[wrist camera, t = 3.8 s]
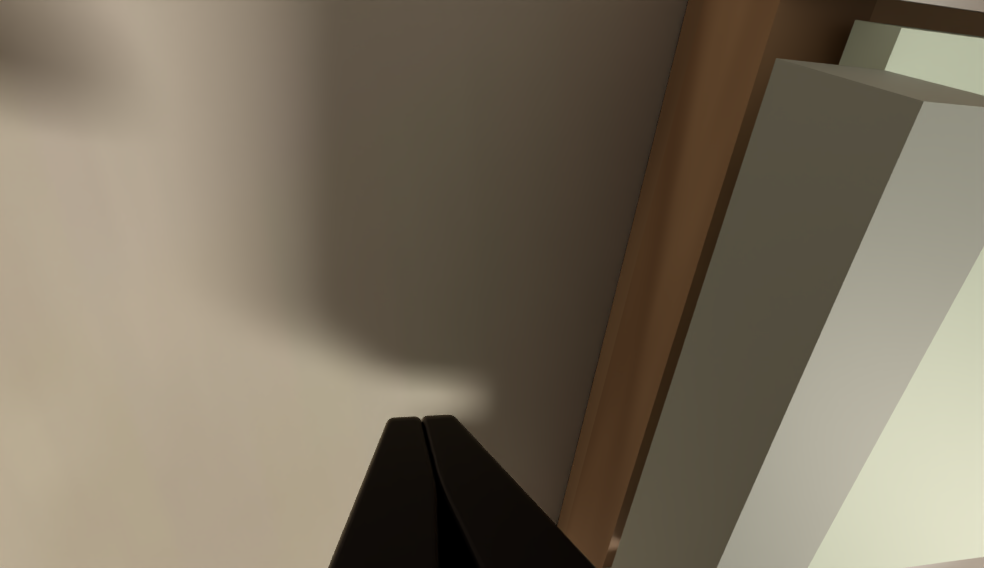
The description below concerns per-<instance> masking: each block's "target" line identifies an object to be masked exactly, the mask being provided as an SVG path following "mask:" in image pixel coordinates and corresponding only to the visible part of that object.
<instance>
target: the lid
mask: <svg viewBox="0 0 984 568" xmlns="http://www.w3.org/2000/svg"><path fill="white" fill-rule="evenodd" d="M979 557H984V37H981V36H974V35H966V34H959V33H951V32H944V31H936V30H929V29H921V28H914V27H906V26H898V25H891V24H883V23H876V22H868V21H861V20H855V22H854V24H853V27H852V30H851V32H850V35H849V38H848V41H847V43H846V46H845V49H844V51H843V54H842V57H841V59H840V62H839V65H833V64H824V63H815V62H806V61H797V60H788V59H779V58H776V60H775V63H774V66H773V69H772V73H771V76H770V79H769V82H768V85H767V88H766V91H765V94H764V97H763V100H762V103H761V107H760V110H759V113H758V116H757V119H756V122H755V125H754V128H753V131H752V134H751V137H750V141H749V144H748V147H747V150H746V153H745V156H744V159H743V162H742V165H741V168H740V171H739V175H738V178H737V181H736V184H735V187H734V190H733V193H732V196H731V199H730V202H729V205H728V209H727V212H726V215H725V218H724V221H723V224H722V227H721V230H720V233H719V236H718V239H717V243H716V246H715V249H714V252H713V255H712V258H711V261H710V264H709V267H708V270H707V273H706V277H705V280H704V283H703V286H702V289H701V292H700V295H699V298H698V301H697V304H696V308H695V311H694V314H693V317H692V320H691V323H690V326H689V329H688V332H687V335H686V338H685V342H684V345H683V348H682V351H681V354H680V357H679V360H678V363H677V366H676V369H675V372H674V376H673V379H672V382H671V385H670V388H669V391H668V394H667V397H666V400H665V403H664V406H663V410H662V413H661V416H660V419H659V422H658V425H657V428H656V431H655V434H654V437H653V440H652V444H651V447H650V450H649V453H648V456H647V459H646V462H645V465H644V468H643V471H642V474H641V478H640V481H639V484H638V487H637V490H636V493H635V496H634V499H633V502H632V505H631V508H630V512H629V515H628V518H627V521H626V524H625V527H624V530H623V533H622V536H621V539H620V542H619V546H618V549H617V552H616V555H615V558H614V561H613V564H612V567H611V568H906V567H913V566H920V565H928V564H935V563H942V562H950V561H957V560H965V559H972V558H979Z"/></svg>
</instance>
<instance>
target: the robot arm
mask: <svg viewBox="0 0 984 568" xmlns="http://www.w3.org/2000/svg"><path fill="white" fill-rule="evenodd" d="M328 568H596V567H595V566H594V565H593V564H592V563H591V562H590V561H589V560H588V559H587V558H586V557H585V556H584V554H583V553H582V552H581V551H580V550H579V549H578V548H577V547H576V546H575V545H574V544H573V543H572V542H571V541H570V539H569V538H568V537H567V536H566V535H565V534H564V533H563V532H562V531H561V530H560V529H559V528H558V527H557V526H556V524H555V523H554V522H553V521H552V520H551V519H550V518H549V517H548V516H547V515H546V514H545V513H544V512H543V511H542V509H541V508H540V507H539V506H538V505H537V504H536V503H535V502H534V501H533V500H532V499H531V498H530V497H529V496H528V495H527V493H526V492H525V491H524V490H523V489H522V488H521V487H520V486H519V485H518V484H517V483H516V482H515V481H514V480H513V478H512V477H511V476H510V475H509V474H508V473H507V472H506V471H505V470H504V469H503V468H502V467H501V466H500V465H499V463H498V462H497V461H496V460H495V459H494V458H493V457H492V456H491V455H490V454H489V453H488V452H487V451H486V450H485V448H484V447H483V446H482V445H481V444H480V443H479V442H478V441H477V440H476V439H475V438H474V437H473V436H472V435H471V433H470V432H469V431H468V430H467V429H466V428H465V427H464V426H463V425H462V424H461V423H460V422H459V421H458V420H457V419H456V418H455V417H454V416H452V415H434V416H425V417H424V418H423V419H422V420H420V419H419V418H418V417H397V418H391V419H389V420H388V421H387V423H386V426H385V428H384V430H383V433H382V435H381V438H380V440H379V443H378V445H377V448H376V450H375V453H374V455H373V458H372V460H371V463H370V465H369V468H368V470H367V473H366V475H365V478H364V480H363V483H362V485H361V488H360V490H359V493H358V495H357V498H356V500H355V503H354V505H353V507H352V510H351V512H350V515H349V517H348V520H347V522H346V525H345V527H344V530H343V532H342V535H341V537H340V540H339V542H338V545H337V547H336V550H335V552H334V555H333V557H332V560H331V562H330V565H329V567H328Z"/></svg>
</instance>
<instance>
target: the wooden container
mask: <svg viewBox="0 0 984 568" xmlns="http://www.w3.org/2000/svg"><path fill="white" fill-rule="evenodd" d="M855 20H861V21H868V22H876V23H883V24H891V25H898V26H906V27H914V28H921V29H929V30H936V31H944V32H951V33H959V34H966V35H974V36H981V37H984V0H688V4H687V8H686V12H685V16H684V20H683V24H682V28H681V32H680V36H679V40H678V44H677V48H676V52H675V56H674V60H673V64H672V68H671V72H670V76H669V80H668V84H667V88H666V92H665V96H664V100H663V104H662V108H661V112H660V116H659V120H658V124H657V128H656V132H655V136H654V140H653V144H652V148H651V152H650V156H649V160H648V164H647V168H646V172H645V176H644V180H643V184H642V188H641V192H640V196H639V200H638V204H637V208H636V212H635V216H634V220H633V224H632V228H631V232H630V236H629V240H628V244H627V248H626V252H625V256H624V260H623V264H622V268H621V272H620V276H619V280H618V284H617V288H616V292H615V296H614V300H613V304H612V308H611V312H610V316H609V320H608V324H607V328H606V332H605V336H604V340H603V344H602V348H601V352H600V356H599V360H598V364H597V368H596V372H595V376H594V380H593V384H592V388H591V392H590V396H589V400H588V404H587V408H586V412H585V416H584V420H583V424H582V428H581V432H580V436H579V440H578V444H577V448H576V452H575V456H574V460H573V464H572V468H571V472H570V476H569V480H568V484H567V488H566V492H565V496H564V500H563V504H562V508H561V512H560V516H559V520H558V524H557V527H558V528H559V529H560V530H561V531H562V532H563V533H564V534H565V535H566V536H567V537H568V538H569V539H570V541H571V542H572V543H573V544H574V545H575V546H576V547H577V548H578V549H579V550H580V551H581V552H582V553H583V554H584V556H585V557H586V558H587V559H588V560H589V561H590V562H591V563H592V564H593V565H594V566H595V567H596V568H611V567H612V564H613V561H614V558H615V555H616V552H617V549H618V546H619V542H620V539H621V536H622V533H623V530H624V527H625V524H626V521H627V518H628V515H629V512H630V508H631V505H632V502H633V499H634V496H635V493H636V490H637V487H638V484H639V481H640V478H641V474H642V471H643V468H644V465H645V462H646V459H647V456H648V453H649V450H650V447H651V444H652V440H653V437H654V434H655V431H656V428H657V425H658V422H659V419H660V416H661V413H662V410H663V406H664V403H665V400H666V397H667V394H668V391H669V388H670V385H671V382H672V379H673V376H674V372H675V369H676V366H677V363H678V360H679V357H680V354H681V351H682V348H683V345H684V342H685V338H686V335H687V332H688V329H689V326H690V323H691V320H692V317H693V314H694V311H695V308H696V304H697V301H698V298H699V295H700V292H701V289H702V286H703V283H704V280H705V277H706V273H707V270H708V267H709V264H710V261H711V258H712V255H713V252H714V249H715V246H716V243H717V239H718V236H719V233H720V230H721V227H722V224H723V221H724V218H725V215H726V212H727V209H728V205H729V202H730V199H731V196H732V193H733V190H734V187H735V184H736V181H737V178H738V175H739V171H740V168H741V165H742V162H743V159H744V156H745V153H746V150H747V147H748V144H749V141H750V137H751V134H752V131H753V128H754V125H755V122H756V119H757V116H758V113H759V110H760V107H761V103H762V100H763V97H764V94H765V91H766V88H767V85H768V82H769V79H770V76H771V73H772V69H773V66H774V63H775V60H776V58H779V59H788V60H797V61H806V62H815V63H824V64H833V65H839V62H840V59H841V57H842V54H843V51H844V49H845V46H846V43H847V41H848V38H849V35H850V32H851V30H852V27H853V24H854V22H855ZM906 568H984V557H979V558H972V559H965V560H957V561H950V562H942V563H935V564H928V565H920V566H913V567H906Z"/></svg>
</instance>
